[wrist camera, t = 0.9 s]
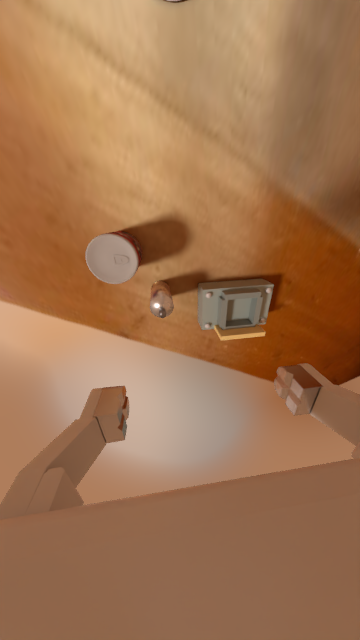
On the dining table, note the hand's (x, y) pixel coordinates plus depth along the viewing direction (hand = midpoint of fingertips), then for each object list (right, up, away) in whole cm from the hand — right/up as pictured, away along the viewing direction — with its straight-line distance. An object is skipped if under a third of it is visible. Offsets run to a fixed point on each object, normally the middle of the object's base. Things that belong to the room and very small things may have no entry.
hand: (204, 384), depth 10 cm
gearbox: (+11, +9, +36) cm, 39 cm away
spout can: (-6, +11, +33) cm, 35 cm away
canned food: (-13, +18, +28) cm, 36 cm away
